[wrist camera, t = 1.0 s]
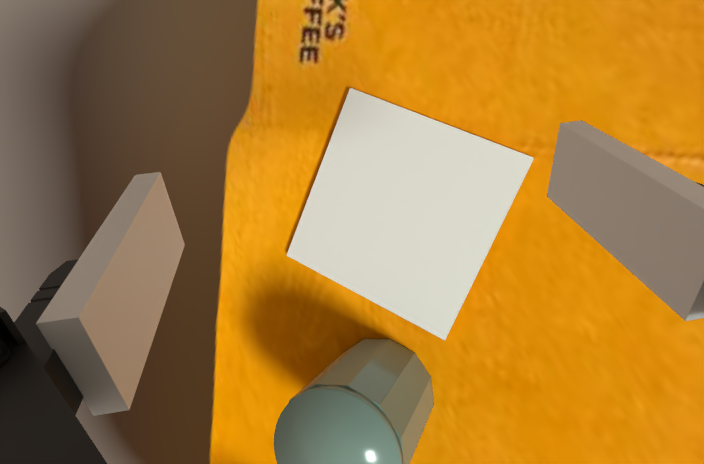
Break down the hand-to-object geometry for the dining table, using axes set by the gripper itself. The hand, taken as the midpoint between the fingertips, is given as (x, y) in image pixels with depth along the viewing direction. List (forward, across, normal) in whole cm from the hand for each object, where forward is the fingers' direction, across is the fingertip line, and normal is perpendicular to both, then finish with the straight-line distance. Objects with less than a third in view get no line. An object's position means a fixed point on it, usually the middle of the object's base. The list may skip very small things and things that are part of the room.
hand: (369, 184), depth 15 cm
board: (+19, +5, -12) cm, 23 cm away
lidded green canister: (+12, +2, -26) cm, 29 cm away
